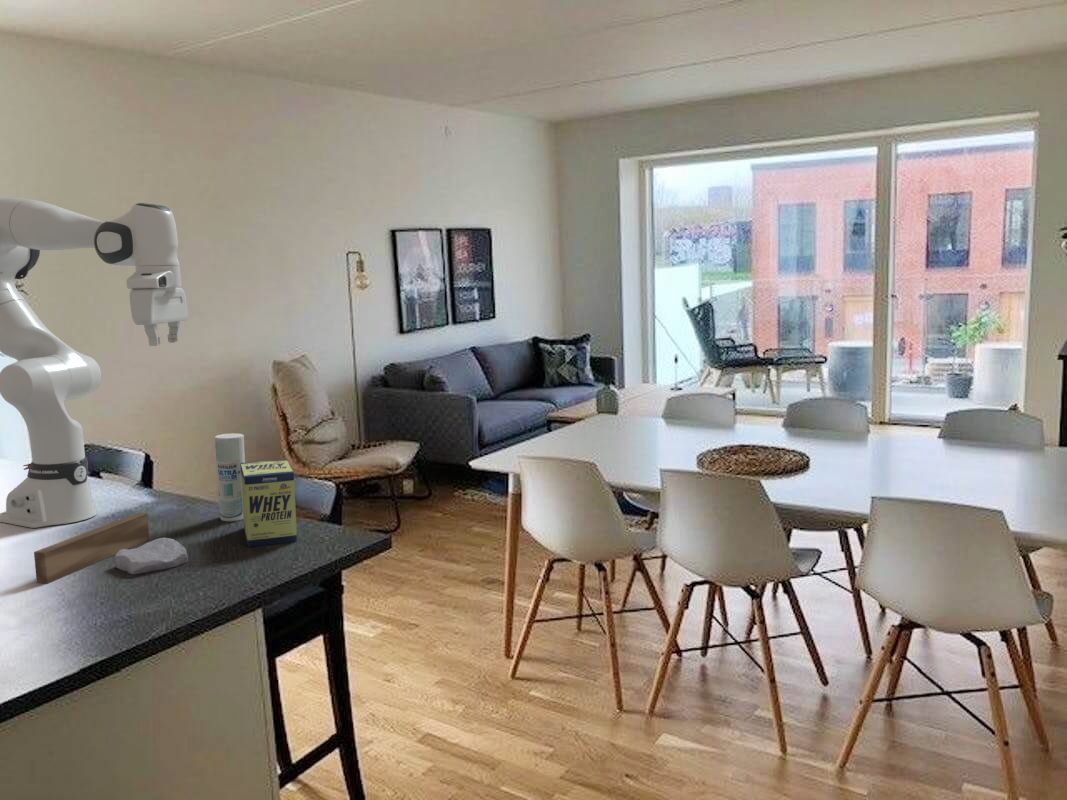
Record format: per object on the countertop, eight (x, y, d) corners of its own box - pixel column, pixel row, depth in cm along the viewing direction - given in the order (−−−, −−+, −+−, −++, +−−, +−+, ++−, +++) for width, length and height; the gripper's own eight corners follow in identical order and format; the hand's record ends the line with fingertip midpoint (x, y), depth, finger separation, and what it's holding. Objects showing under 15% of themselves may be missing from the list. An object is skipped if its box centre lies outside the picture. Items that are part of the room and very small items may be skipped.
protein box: (247, 547, 184) (243, 476, 181) (243, 528, 198) (239, 462, 196) (298, 541, 187) (294, 472, 185) (289, 523, 202) (286, 458, 200)
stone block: (193, 570, 175) (168, 551, 181) (193, 549, 174) (168, 531, 179) (136, 589, 166) (111, 568, 172) (135, 567, 165) (111, 547, 170)
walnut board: (36, 582, 163) (33, 551, 162) (139, 538, 190) (137, 512, 189) (47, 583, 162) (44, 553, 162) (149, 539, 189) (147, 513, 188)
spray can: (215, 521, 203) (210, 438, 200) (225, 513, 210) (221, 433, 207) (242, 521, 203) (237, 438, 200) (252, 513, 209) (247, 433, 207)
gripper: (165, 280, 195) (170, 340, 197) (122, 280, 175) (128, 348, 177) (192, 279, 195) (197, 340, 197) (152, 279, 175) (158, 347, 177)
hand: (164, 344), depth 187 cm, fingers open, 8 cm apart
